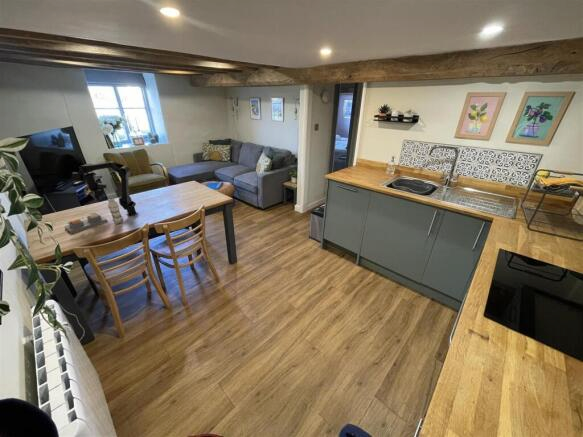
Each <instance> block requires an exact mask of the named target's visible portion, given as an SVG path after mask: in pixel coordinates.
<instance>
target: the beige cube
mask: <svg viewBox="0 0 583 437" xmlns="http://www.w3.org/2000/svg"><path fill="white" fill-rule="evenodd" d="M98 215H99V214H98V213H97V212H91V213H88V214H87V217H88V216H89V218H94V217H98Z"/></svg>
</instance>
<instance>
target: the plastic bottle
mask: <svg viewBox="0 0 583 437" xmlns="http://www.w3.org/2000/svg"><path fill="white" fill-rule="evenodd" d="M107 202H108V203H107V208H108V209H109V211H110V213H111V218H112V222H113V223H114V224H115V225H118V224H122V223H123V222H124V218H123V216H122V214H121V210H120V207H119V202H116V201H115V198H114V197H108V198H107Z"/></svg>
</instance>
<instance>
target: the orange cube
mask: <svg viewBox="0 0 583 437" xmlns="http://www.w3.org/2000/svg"><path fill="white" fill-rule="evenodd" d="M80 220H81V219H80V218H78V217H75V218H71V219H69V222H71V224H75V223H78V222H80Z"/></svg>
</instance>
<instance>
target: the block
mask: <svg viewBox="0 0 583 437" xmlns="http://www.w3.org/2000/svg"><path fill="white" fill-rule="evenodd" d="M86 218H87V219H83V220H82V219H80V222H78V223H75V224H71V222H70V221H69V222H68V225H67V224H66V225H65V226H64V229H65V230H67V231H68V232H69V233H70V234H75V233H78V232H81V231H83V230H87V229H90V228H93V227H96V226H98V225H99V226H100V225H102V224H104V223H108V222H109V221H108V219H107V218H105V216H104V217H103V216H102V215H100V214H98V217H94V218H89V216H88V215H87V216H86Z"/></svg>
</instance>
